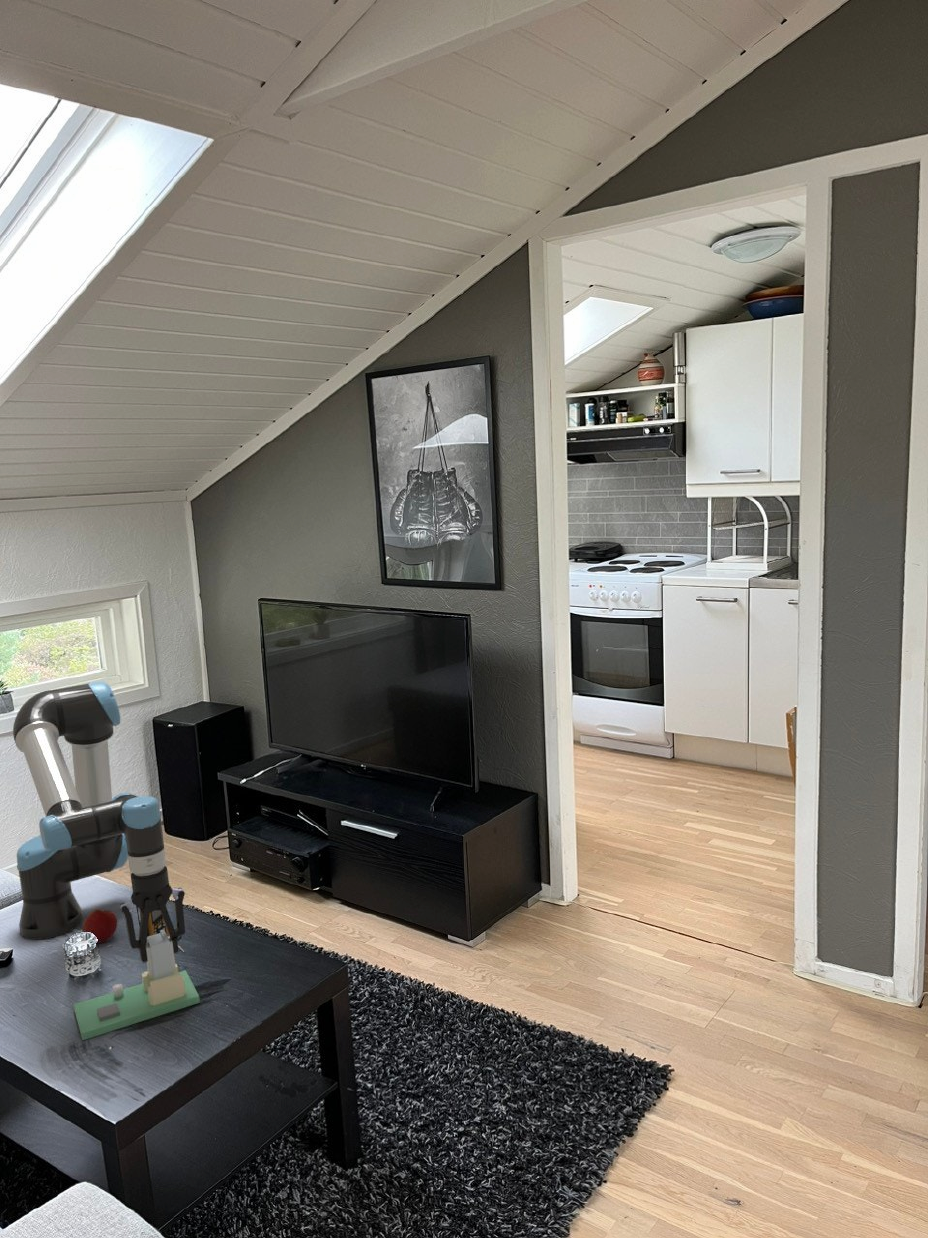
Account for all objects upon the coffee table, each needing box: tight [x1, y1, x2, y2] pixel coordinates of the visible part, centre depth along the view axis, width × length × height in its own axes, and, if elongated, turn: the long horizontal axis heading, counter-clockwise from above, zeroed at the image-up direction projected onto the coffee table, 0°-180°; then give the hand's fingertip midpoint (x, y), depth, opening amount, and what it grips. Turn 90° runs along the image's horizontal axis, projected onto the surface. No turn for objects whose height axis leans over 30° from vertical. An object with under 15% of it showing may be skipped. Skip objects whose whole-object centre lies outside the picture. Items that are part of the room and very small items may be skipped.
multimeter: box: [135, 905, 185, 953], centre depth 231 cm, size 15×10×20 cm
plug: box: [147, 930, 174, 980], centre depth 208 cm, size 5×4×9 cm
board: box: [73, 963, 201, 1041], centre depth 207 cm, size 13×24×6 cm, turn 119°
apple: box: [82, 909, 118, 944], centre depth 238 cm, size 8×8×8 cm
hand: (161, 970), depth 209 cm, fingers closed on plug, 4 cm apart
